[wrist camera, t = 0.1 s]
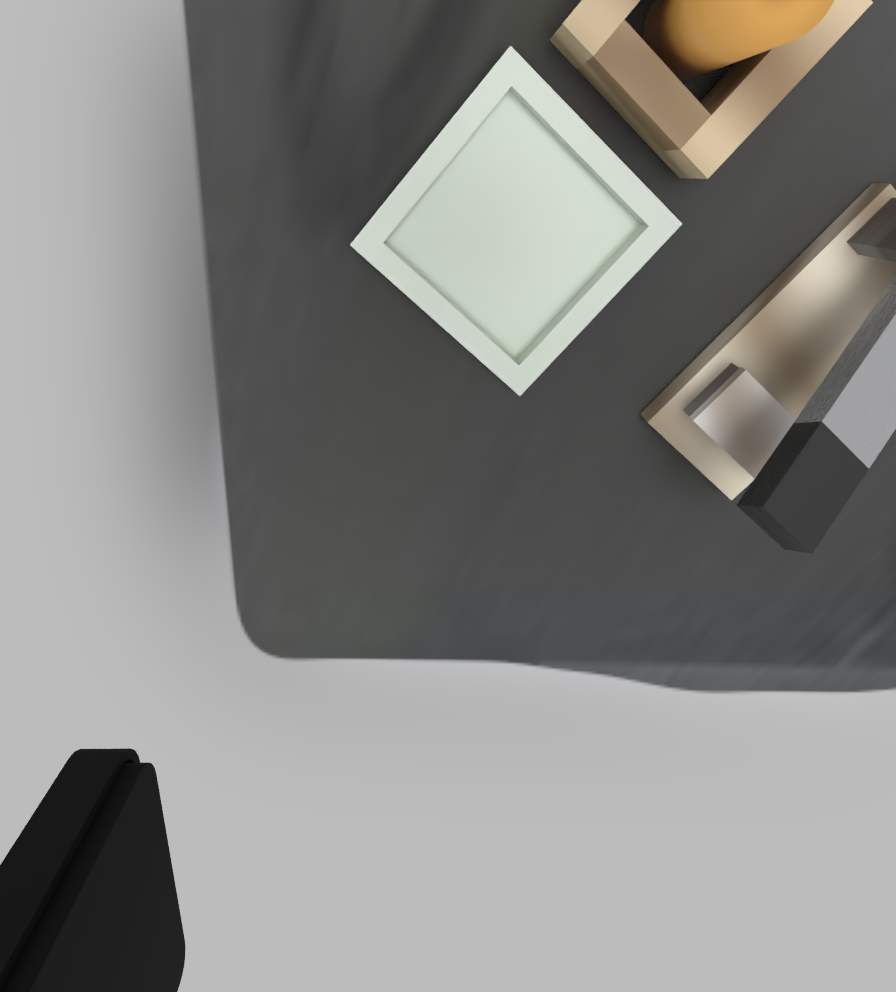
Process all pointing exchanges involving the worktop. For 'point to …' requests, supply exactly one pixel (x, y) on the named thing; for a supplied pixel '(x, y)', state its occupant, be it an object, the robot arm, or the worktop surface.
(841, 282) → the base
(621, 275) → the tray
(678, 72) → the plug
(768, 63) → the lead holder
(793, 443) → the lever
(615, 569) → the worktop surface
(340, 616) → the worktop surface
